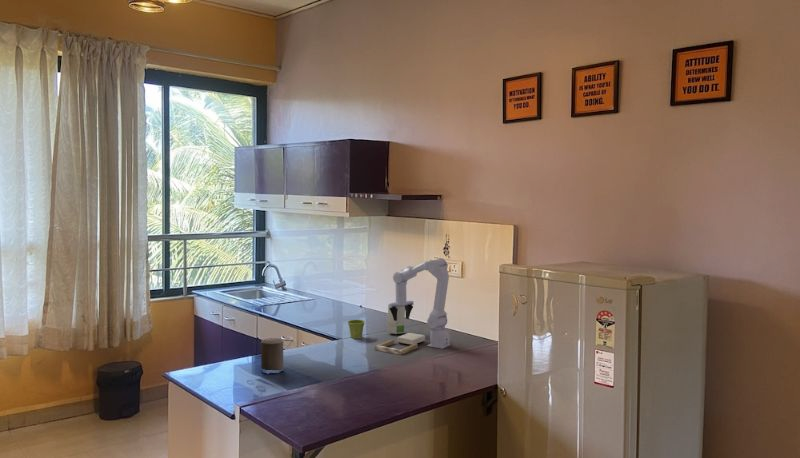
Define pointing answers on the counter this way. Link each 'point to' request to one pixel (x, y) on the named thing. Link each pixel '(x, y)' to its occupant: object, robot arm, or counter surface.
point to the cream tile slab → (411, 338)
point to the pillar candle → (272, 354)
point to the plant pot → (356, 328)
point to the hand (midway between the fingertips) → (401, 319)
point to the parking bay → (391, 350)
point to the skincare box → (398, 325)
